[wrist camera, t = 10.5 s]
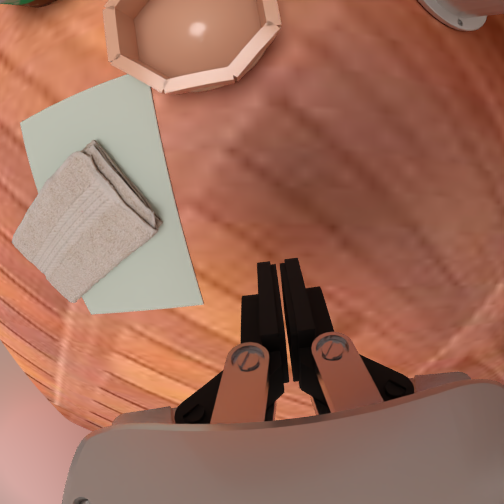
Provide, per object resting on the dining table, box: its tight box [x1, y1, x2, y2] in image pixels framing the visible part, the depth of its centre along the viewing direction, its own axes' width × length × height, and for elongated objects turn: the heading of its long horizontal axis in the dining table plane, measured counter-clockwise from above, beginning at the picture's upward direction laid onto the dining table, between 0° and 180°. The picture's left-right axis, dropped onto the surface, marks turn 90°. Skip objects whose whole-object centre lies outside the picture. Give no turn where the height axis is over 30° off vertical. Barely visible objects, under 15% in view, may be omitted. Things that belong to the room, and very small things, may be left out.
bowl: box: [103, 0, 281, 94], centre depth 17 cm, size 13×13×6 cm
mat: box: [20, 74, 204, 314], centre depth 28 cm, size 26×16×1 cm, turn 8°
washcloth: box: [12, 140, 163, 303], centre depth 27 cm, size 12×18×3 cm, turn 126°
